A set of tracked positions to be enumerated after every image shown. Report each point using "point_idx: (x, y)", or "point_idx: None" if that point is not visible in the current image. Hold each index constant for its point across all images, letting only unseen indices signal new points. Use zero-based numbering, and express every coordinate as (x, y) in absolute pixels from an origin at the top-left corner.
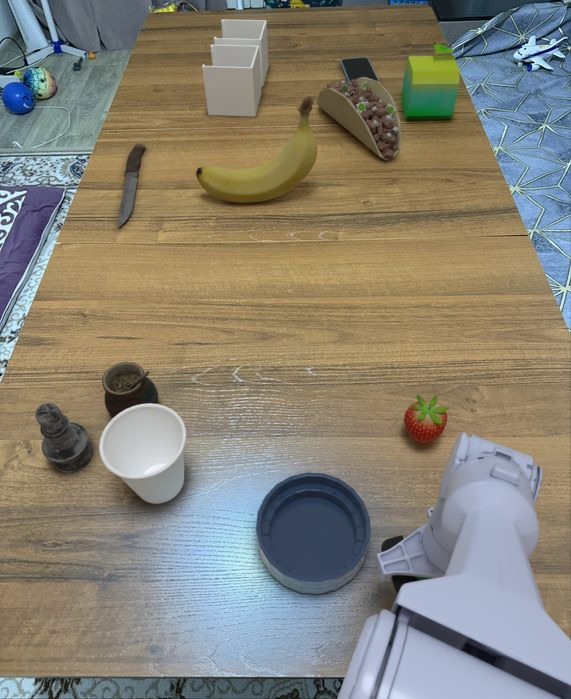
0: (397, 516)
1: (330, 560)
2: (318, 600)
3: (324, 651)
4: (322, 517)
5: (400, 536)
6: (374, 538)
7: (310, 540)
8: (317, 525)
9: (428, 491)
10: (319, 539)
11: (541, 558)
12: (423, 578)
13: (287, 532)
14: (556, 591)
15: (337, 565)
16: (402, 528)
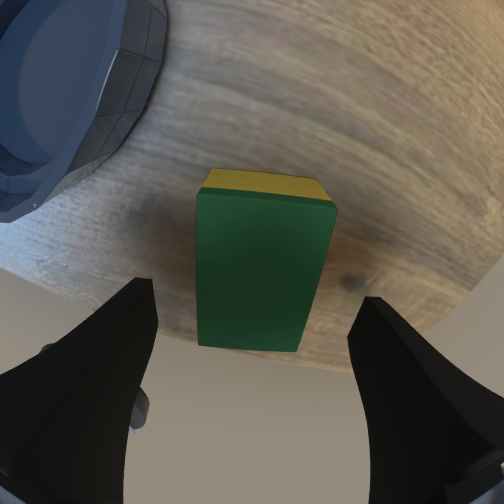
0: (278, 44)
1: (58, 123)
2: None
3: (47, 269)
4: (75, 18)
5: (2, 469)
6: (182, 80)
7: (36, 73)
8: (59, 37)
9: (394, 32)
10: (51, 71)
11: (470, 263)
12: (233, 277)
13: (11, 56)
14: (445, 307)
15: (67, 137)
16: (275, 78)
